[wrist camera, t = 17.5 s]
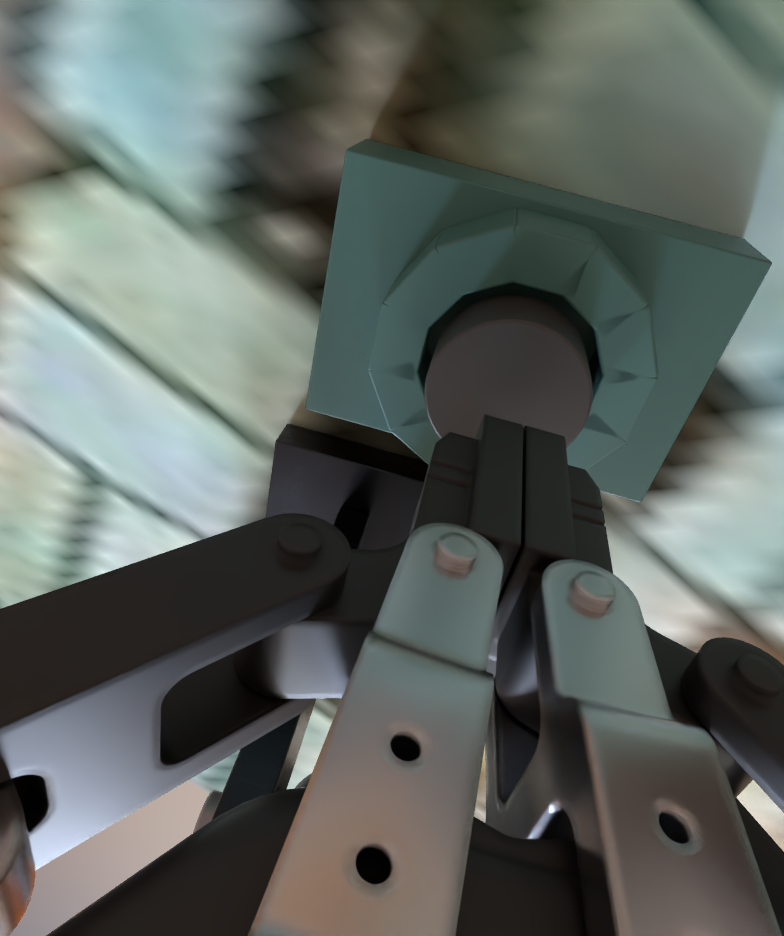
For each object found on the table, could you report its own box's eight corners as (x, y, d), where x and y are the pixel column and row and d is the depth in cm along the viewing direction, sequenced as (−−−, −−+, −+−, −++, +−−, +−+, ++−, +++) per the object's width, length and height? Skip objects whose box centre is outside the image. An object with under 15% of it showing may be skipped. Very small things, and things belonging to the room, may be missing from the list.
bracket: (502, 658, 26) (485, 1080, 15) (263, 589, 26) (82, 955, 15) (576, 503, 21) (625, 947, 11) (287, 422, 22) (54, 777, 11)
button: (611, 317, 14) (621, 346, 13) (555, 449, 16) (557, 488, 15) (455, 274, 14) (447, 299, 13) (418, 411, 16) (407, 446, 15)
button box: (746, 239, 16) (802, 286, 13) (631, 463, 20) (651, 543, 17) (365, 138, 17) (325, 158, 13) (324, 377, 20) (285, 440, 17)
